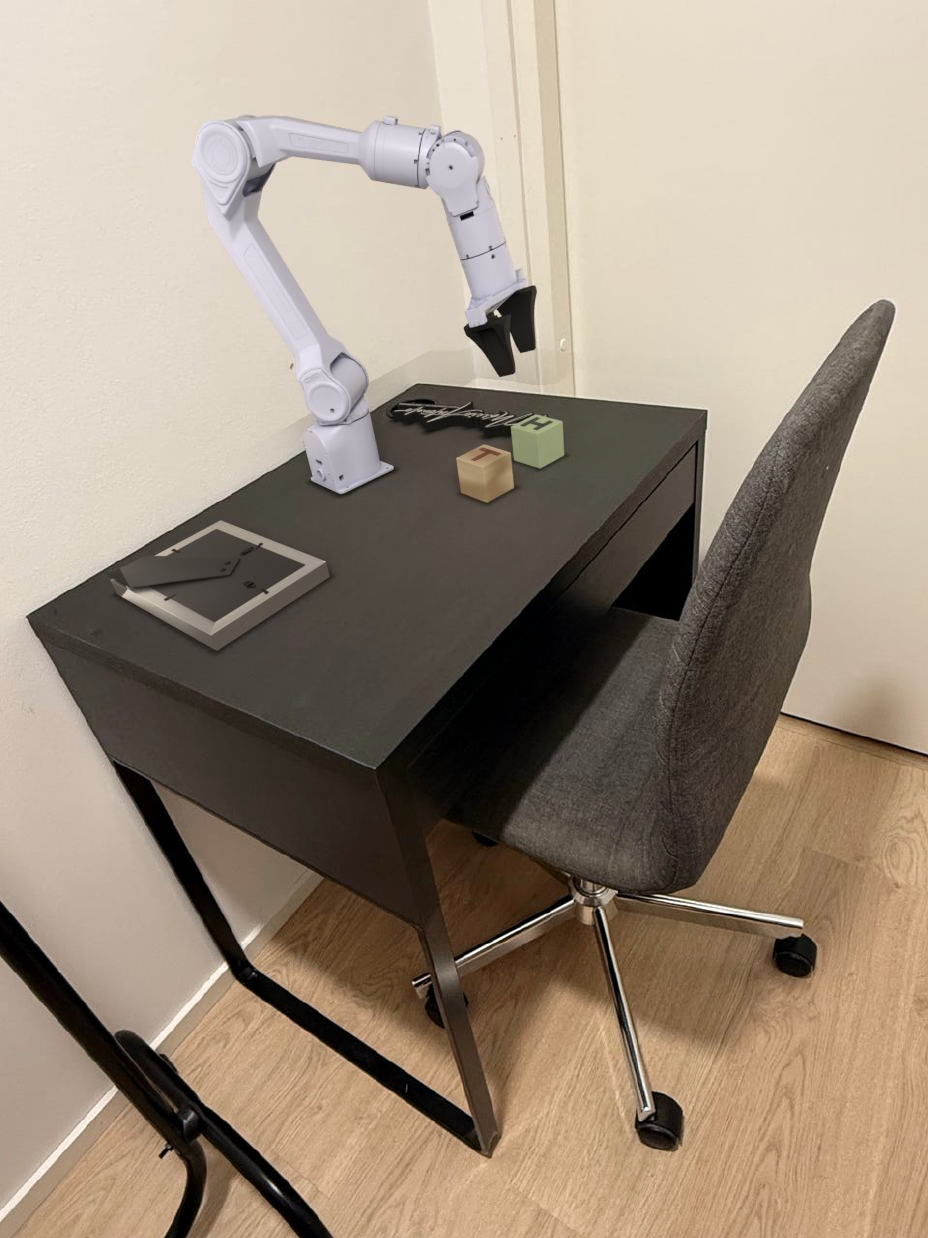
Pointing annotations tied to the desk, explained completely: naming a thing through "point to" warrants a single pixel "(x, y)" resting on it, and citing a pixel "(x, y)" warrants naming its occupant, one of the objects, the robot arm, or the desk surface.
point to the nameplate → (458, 417)
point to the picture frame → (219, 582)
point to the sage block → (537, 441)
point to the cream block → (485, 473)
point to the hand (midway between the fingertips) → (518, 362)
